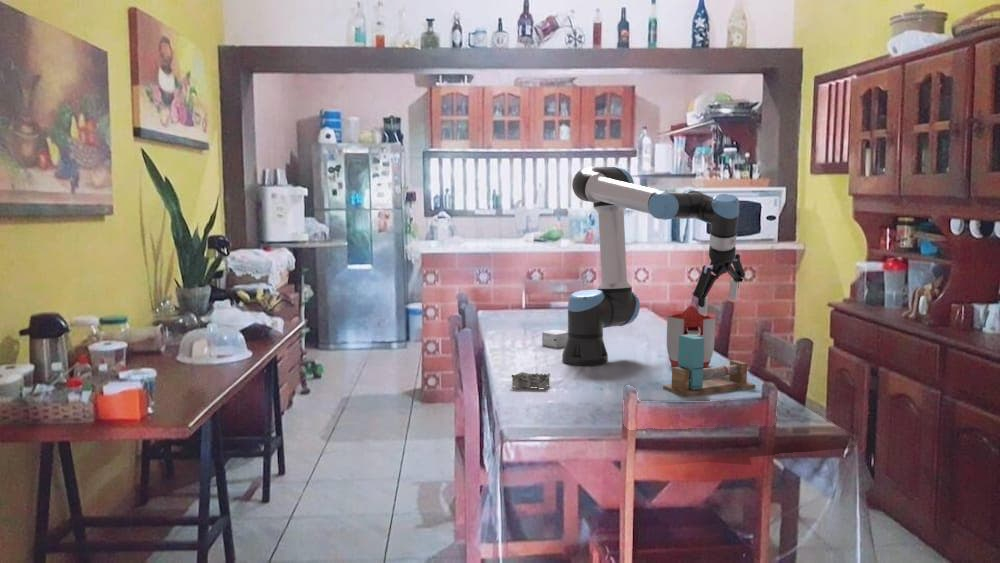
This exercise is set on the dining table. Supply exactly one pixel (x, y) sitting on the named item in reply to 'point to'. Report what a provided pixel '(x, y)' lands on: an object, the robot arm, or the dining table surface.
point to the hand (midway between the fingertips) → (717, 306)
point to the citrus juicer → (690, 332)
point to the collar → (692, 358)
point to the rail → (734, 381)
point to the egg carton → (530, 380)
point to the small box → (554, 338)
